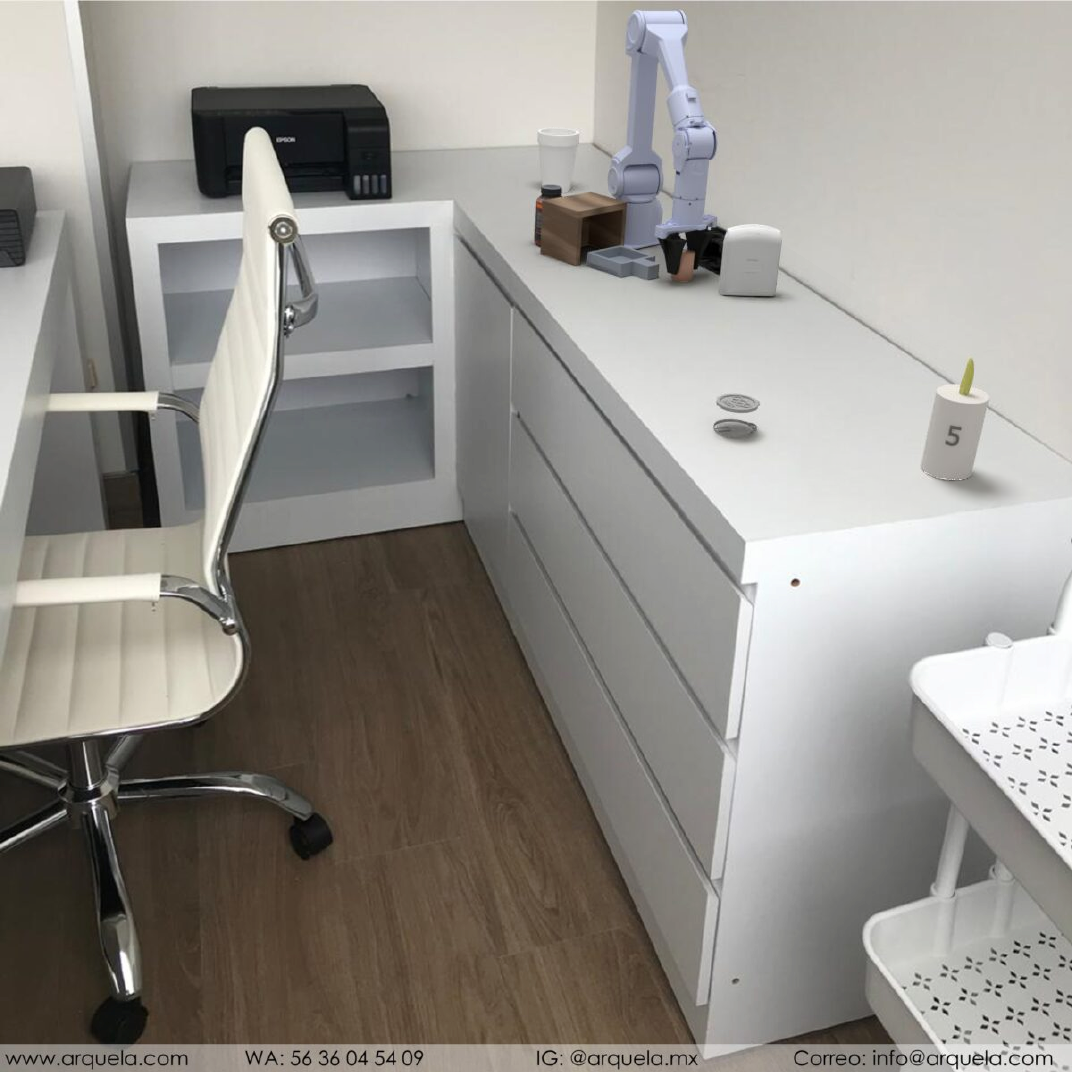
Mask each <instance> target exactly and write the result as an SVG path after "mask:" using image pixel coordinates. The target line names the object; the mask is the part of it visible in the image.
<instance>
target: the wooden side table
mask: <svg viewBox="0 0 1072 1072" xmlns="http://www.w3.org/2000/svg"><path fill="white" fill-rule="evenodd" d="M626 214H627V202H625V201H621V200H618V199H616V198H614V197H610V196H607V195H603V194H601V193H597V192H593V191H588V192H582V193H577V194H570V195H565V196H562V197H559V198H553V199H548V200H542V224H541V246H540V251H539V252H540V254H541V255H544V256H546V257H549V258H552V259H555V260H558V261H561V262H564V263H566V264H569V265H572V266H574V267H577V266H580V264H581V263H580V261H581V248H582V247H585V246H590V247H592V248H595V249H598V250H601V249H606V248H610V247H615V246H619V245H622V246H624V241H625V227H626Z"/></svg>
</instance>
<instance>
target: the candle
mask: <svg viewBox="0 0 1072 1072" xmlns="http://www.w3.org/2000/svg"><path fill="white" fill-rule="evenodd" d="M974 375H975V364H974V360H973V358H972V357H970V358H969V359H968V361H967V364H966V367H965V371H964V373H963V376H962V379H961V382H960V384H956V383H955V384H943V385H940V386H939V387H937V389H936V390H935V391H936V392H935V396H934V401H933V405H932V408H931V409H932V411H931V414H930V415H931V416H930V420H929V425H928V429H927V434H926V438H925V444H924V448H923V452H922V457H921V460H920V461H921V463H920V469H921V468H922V469H923V470H924V471H925V472H927V473H929V474H931V475H932V476H935V477H938V478H946V479H951V480H952V479H953V480H954V479H955V480H959V479H965V478H968V479H969V478H971V476H972V474H973V473H972V472H973V470H974V466H975V459H976V455H977V452H978V447H979V444H980V438H981V436H982V435H981V434H982V430H983V426H984V422H985V418H986V414H987V413H986V412H987V409H988V406H989V405H988V404H989V401H990V396H989V394H988V393H986V392H985V391H984V390H981V389H979V388H976V387H973V385H972V384H973V380H974ZM922 469H921V470H922ZM923 470H922V471H923ZM924 471H923V472H924ZM925 472H924V473H925ZM932 476H931V477H932ZM935 477H934V478H935ZM938 478H937V479H938ZM965 480H966V479H965Z"/></svg>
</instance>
